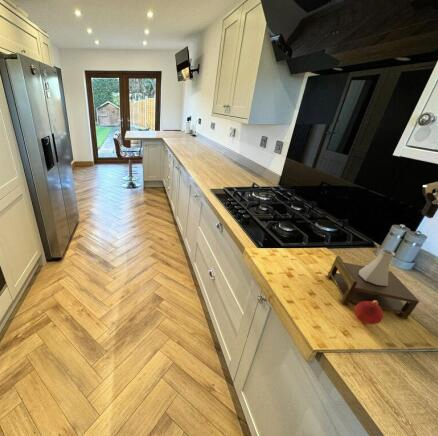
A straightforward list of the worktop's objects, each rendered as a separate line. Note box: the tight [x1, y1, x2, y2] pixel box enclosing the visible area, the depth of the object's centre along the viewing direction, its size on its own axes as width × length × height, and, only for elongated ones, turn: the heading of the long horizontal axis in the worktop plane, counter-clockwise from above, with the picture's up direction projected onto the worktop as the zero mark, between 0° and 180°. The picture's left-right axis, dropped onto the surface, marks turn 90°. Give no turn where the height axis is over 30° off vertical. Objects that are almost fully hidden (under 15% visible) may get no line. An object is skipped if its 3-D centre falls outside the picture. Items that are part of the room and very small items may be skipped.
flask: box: [359, 248, 396, 286], centre depth 71 cm, size 7×7×10 cm
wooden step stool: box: [326, 255, 420, 320], centre depth 75 cm, size 16×14×9 cm
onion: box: [354, 300, 385, 325], centre depth 65 cm, size 6×6×8 cm
